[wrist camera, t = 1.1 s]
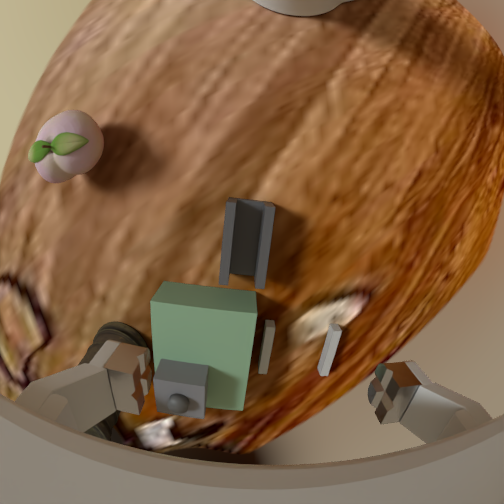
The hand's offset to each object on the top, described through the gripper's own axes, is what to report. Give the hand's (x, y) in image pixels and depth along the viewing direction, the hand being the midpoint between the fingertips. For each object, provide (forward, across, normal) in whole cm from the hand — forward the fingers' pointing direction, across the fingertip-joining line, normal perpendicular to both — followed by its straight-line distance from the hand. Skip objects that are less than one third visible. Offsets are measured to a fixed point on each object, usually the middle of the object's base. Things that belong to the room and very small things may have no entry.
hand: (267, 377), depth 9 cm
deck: (+27, -1, +16) cm, 31 cm away
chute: (+27, +1, +1) cm, 27 cm away
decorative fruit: (+26, +23, -9) cm, 36 cm away
